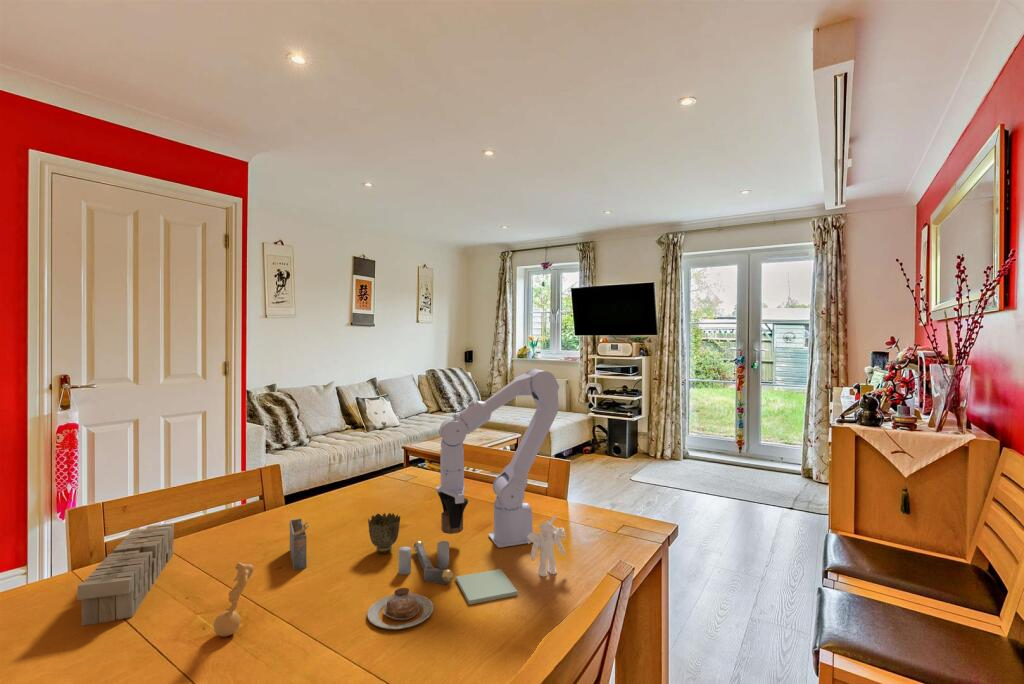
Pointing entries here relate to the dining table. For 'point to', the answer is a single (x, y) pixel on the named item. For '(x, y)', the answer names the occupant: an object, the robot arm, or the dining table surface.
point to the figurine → (233, 603)
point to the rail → (431, 567)
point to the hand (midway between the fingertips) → (452, 523)
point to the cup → (384, 531)
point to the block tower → (126, 575)
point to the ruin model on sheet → (298, 543)
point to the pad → (485, 586)
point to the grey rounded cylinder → (404, 560)
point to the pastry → (400, 608)
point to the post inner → (443, 554)
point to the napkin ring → (446, 524)
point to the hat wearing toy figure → (546, 545)
